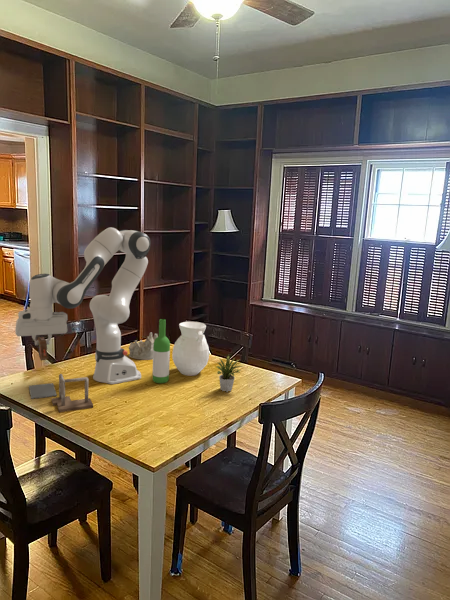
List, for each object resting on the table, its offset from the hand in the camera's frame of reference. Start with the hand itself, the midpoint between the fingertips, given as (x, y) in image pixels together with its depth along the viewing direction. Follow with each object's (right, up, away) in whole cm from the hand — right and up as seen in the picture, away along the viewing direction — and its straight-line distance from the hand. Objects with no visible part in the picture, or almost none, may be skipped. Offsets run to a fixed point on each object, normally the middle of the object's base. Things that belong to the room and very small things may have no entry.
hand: (42, 344), depth 191 cm
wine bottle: (+47, -20, +24) cm, 56 cm away
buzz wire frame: (+16, -24, -7) cm, 29 cm away
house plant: (+78, -23, +16) cm, 83 cm away
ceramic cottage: (+33, -12, +61) cm, 70 cm away
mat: (-1, -21, +4) cm, 21 cm away
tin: (0, -6, +1) cm, 6 cm away
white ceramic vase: (+60, -18, +38) cm, 73 cm away
